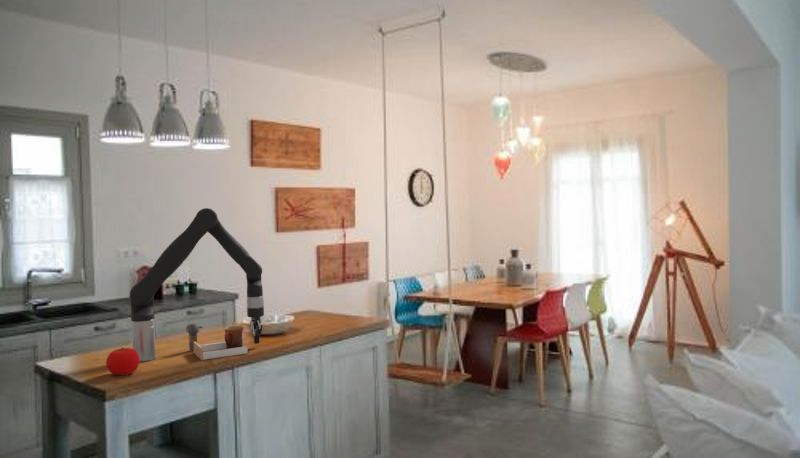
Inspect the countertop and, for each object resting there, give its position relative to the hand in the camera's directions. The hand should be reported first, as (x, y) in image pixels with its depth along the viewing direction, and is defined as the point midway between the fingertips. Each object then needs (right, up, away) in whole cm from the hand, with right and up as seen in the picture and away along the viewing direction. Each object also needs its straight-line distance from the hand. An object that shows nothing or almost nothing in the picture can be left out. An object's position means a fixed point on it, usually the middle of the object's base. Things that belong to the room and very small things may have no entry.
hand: (256, 343), depth 273 cm
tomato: (-43, -5, -39) cm, 58 cm away
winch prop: (-27, -3, -2) cm, 28 cm away
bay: (-14, -3, -8) cm, 16 cm away
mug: (-9, -3, -5) cm, 11 cm away
